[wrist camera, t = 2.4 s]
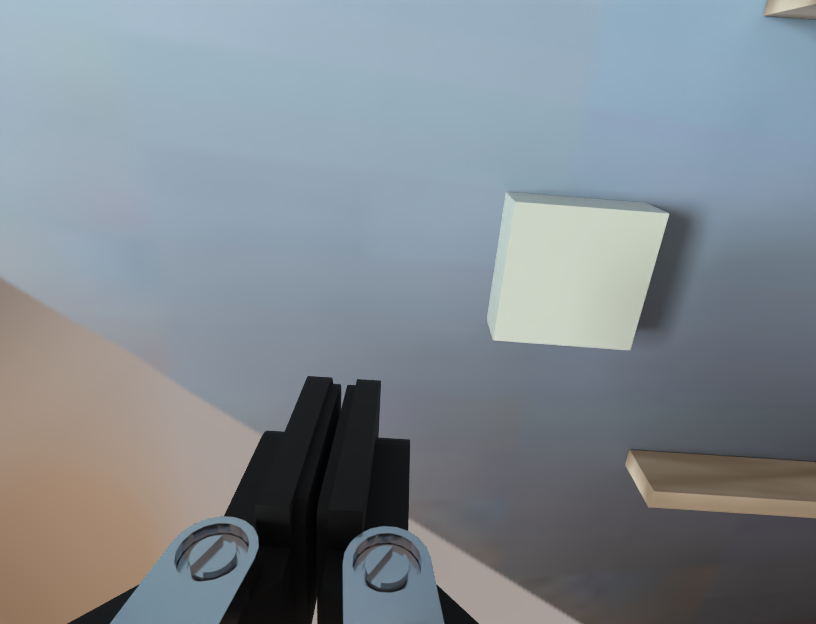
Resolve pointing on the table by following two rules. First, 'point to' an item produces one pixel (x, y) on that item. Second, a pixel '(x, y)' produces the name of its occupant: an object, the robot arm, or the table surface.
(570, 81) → the table surface
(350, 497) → the robot arm
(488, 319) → the sage tile
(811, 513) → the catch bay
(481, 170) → the table surface
